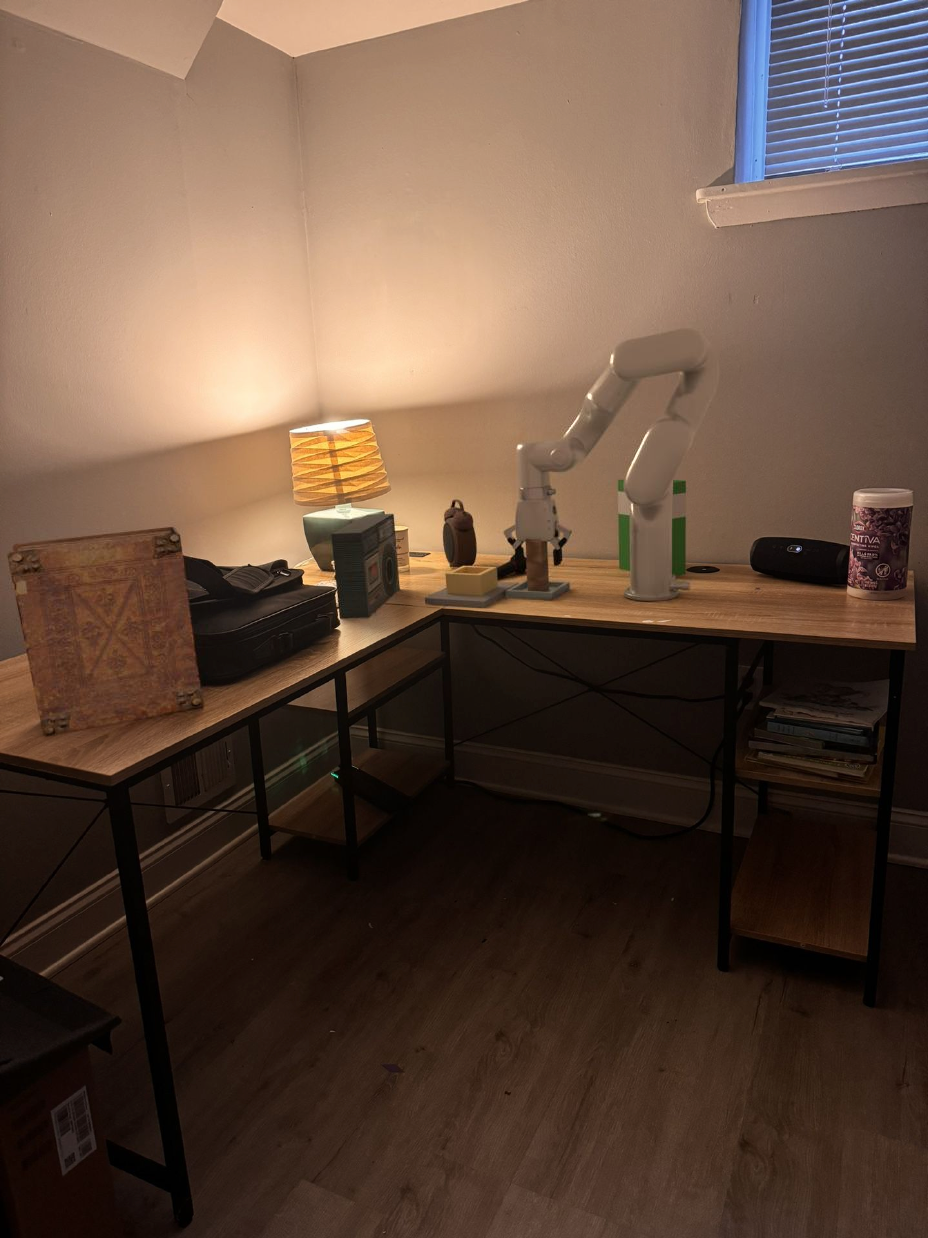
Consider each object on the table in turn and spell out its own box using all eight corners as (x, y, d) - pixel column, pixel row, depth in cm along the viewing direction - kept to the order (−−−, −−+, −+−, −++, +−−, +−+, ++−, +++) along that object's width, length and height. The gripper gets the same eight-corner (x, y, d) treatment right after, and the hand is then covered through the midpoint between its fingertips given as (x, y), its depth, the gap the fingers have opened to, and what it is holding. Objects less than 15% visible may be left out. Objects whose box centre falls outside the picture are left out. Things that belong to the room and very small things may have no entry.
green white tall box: (619, 568, 234) (617, 479, 228) (640, 564, 237) (639, 476, 231) (663, 578, 219) (663, 483, 213) (685, 574, 222) (685, 480, 216)
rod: (549, 589, 212) (546, 525, 208) (542, 593, 209) (540, 527, 205) (534, 588, 214) (531, 524, 210) (527, 592, 211) (524, 527, 206)
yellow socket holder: (518, 588, 218) (517, 563, 216) (484, 607, 201) (482, 580, 199) (462, 585, 225) (461, 561, 224) (424, 603, 208) (422, 577, 207)
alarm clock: (441, 567, 251) (436, 498, 246) (464, 564, 253) (460, 496, 248) (455, 576, 238) (450, 503, 233) (480, 573, 240) (476, 501, 234)
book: (41, 737, 137) (4, 552, 130) (45, 719, 146) (10, 544, 138) (205, 707, 146) (179, 532, 139) (199, 691, 155) (175, 526, 147)
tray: (569, 589, 214) (569, 582, 213) (552, 600, 204) (551, 593, 203) (525, 586, 219) (525, 579, 219) (505, 597, 209) (505, 590, 209)
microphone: (478, 597, 226) (531, 574, 237) (479, 578, 222) (533, 555, 234) (464, 588, 229) (517, 566, 240) (465, 570, 226) (519, 548, 237)
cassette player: (368, 618, 199) (360, 532, 194) (339, 618, 200) (331, 533, 195) (399, 589, 226) (393, 513, 221) (374, 590, 228) (367, 514, 222)
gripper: (574, 491, 204) (577, 561, 209) (508, 492, 212) (512, 560, 217) (563, 495, 198) (566, 568, 202) (495, 496, 206) (500, 567, 210)
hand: (538, 564), depth 210 cm, fingers open, 9 cm apart
